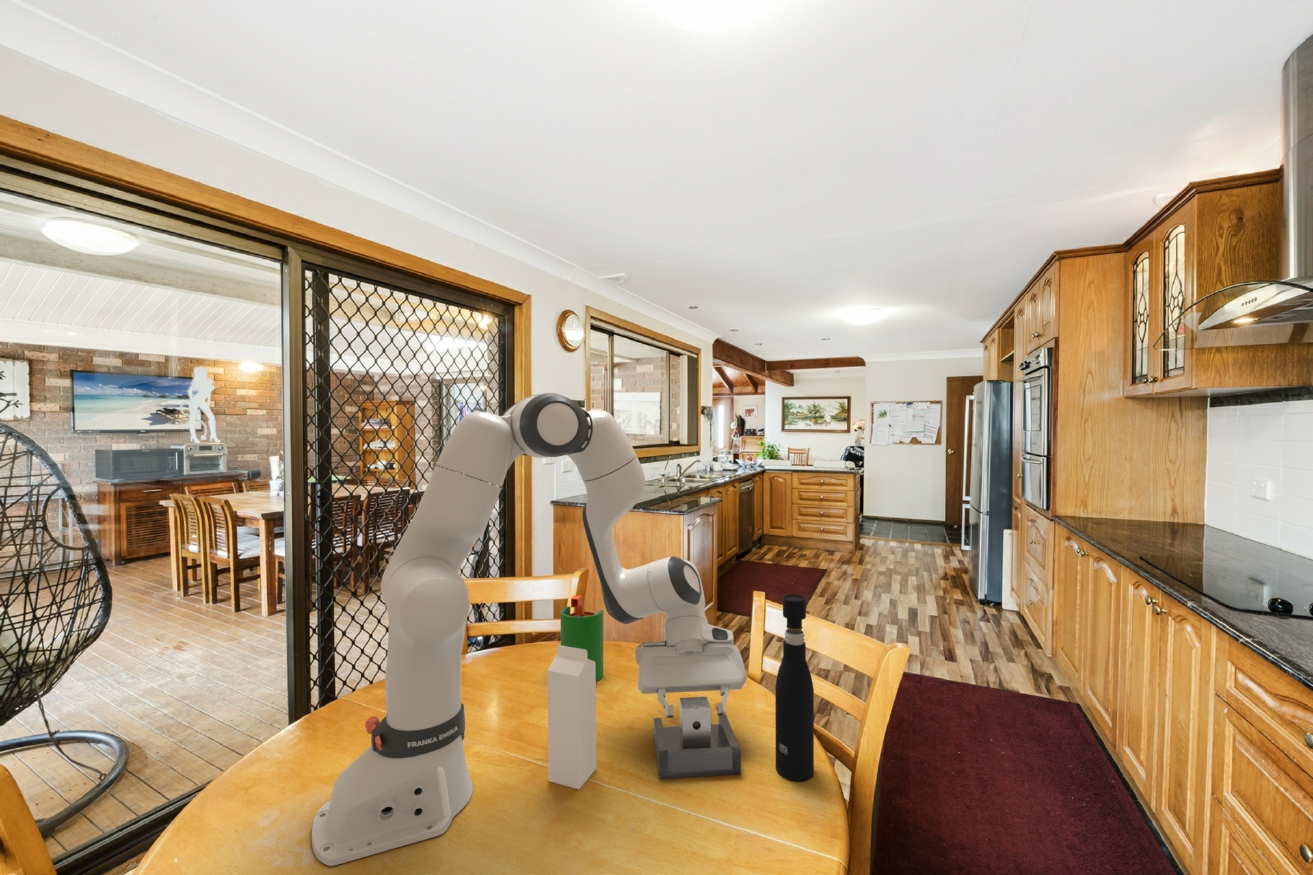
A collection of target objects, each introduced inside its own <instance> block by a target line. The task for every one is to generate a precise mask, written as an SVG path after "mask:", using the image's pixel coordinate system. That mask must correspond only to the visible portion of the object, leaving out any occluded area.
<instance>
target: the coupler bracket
mask: <svg viewBox="0 0 1313 875" xmlns="http://www.w3.org/2000/svg"><path fill="white" fill-rule="evenodd" d="M717 720H718V722H717V723H716V724H711V748H699V749H681V750H680V725H679V726H664V725H663V718H662V717H653V728H652V736H653V742H654V750H655V757H656V763H657V772H658V779H659V780H671V779H673V780H674V779H690V778H691V777H692V778H704V777H709V778H710V777H721V776H738V774H740V776H741V775H742V751H741V748H740V745H739V743H738V741H737V738H736V736H735V733H734V730H733V728H732V725H731V723H730V721H729V719H728V716H727V714H726V715H722V716H718V717H717Z"/></svg>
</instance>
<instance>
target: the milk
mask: <svg viewBox="0 0 1313 875" xmlns="http://www.w3.org/2000/svg"><path fill="white" fill-rule="evenodd" d="M596 686H597V682H596V666H595V661H592V660H589V659H587V650H585V649H579V648H573V647H567V646H561V644H558V645H557V646H556V655H555V656H554V658H553V660H552V662H551V664H550V665H549V667H548V669H547V727H548V728H547V731H548V732H547V733H548V734H547V736H548V737H547V738H548V739H547V741H548V742H547V744H548V747H547V748H548V749H547V750H548V753H547V754H548V761H547V762H548V782H550V783H553V784H557V785H561V786H565V787H568V788H572V789H575V790H580V789H581V788H582V787H583V786H584V785H585V784H586V782H587V781H588V779H589V778H590V777H591V776H592V774H593V773H594V772H595V771H596V770H597V706H596V705H597V703H596V702H597V701H596V699H597V697H596V693H597V691H596V690H597V689H596V688H597V687H596Z"/></svg>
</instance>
